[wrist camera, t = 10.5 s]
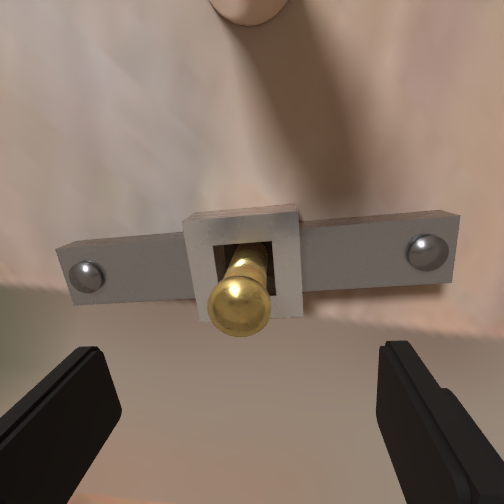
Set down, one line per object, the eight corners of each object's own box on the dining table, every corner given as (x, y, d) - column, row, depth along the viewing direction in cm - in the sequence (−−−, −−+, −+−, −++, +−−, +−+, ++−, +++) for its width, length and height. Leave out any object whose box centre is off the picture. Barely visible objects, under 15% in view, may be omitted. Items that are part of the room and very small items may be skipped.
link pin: (269, 234, 22) (268, 277, 14) (272, 273, 23) (273, 335, 15) (228, 238, 22) (202, 282, 14) (233, 275, 23) (212, 338, 15)
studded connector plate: (441, 190, 20) (476, 195, 17) (431, 287, 23) (459, 308, 19) (71, 224, 23) (36, 234, 20) (96, 307, 25) (69, 328, 22)
